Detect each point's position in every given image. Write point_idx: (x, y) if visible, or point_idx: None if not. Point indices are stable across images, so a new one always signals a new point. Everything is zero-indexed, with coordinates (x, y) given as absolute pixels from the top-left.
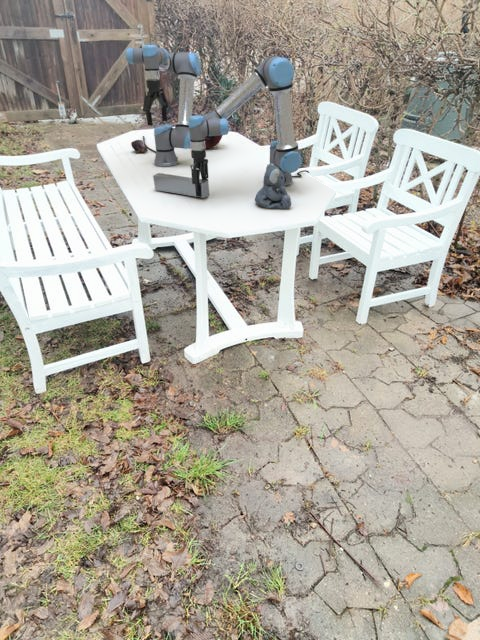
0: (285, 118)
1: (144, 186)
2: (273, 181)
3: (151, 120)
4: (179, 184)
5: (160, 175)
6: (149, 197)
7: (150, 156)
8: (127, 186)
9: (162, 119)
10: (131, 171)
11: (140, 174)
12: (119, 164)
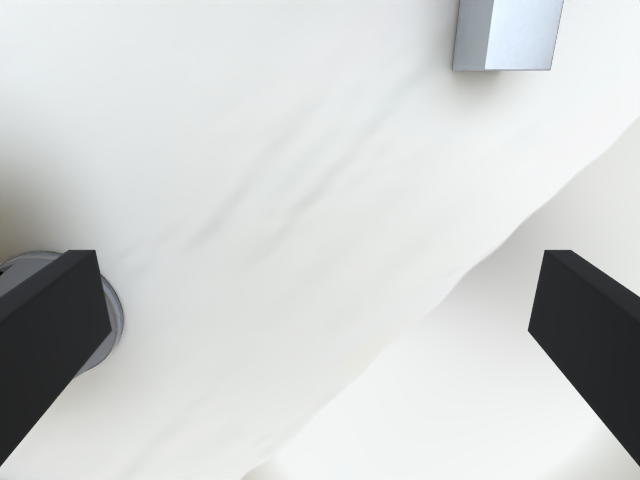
0: None
1: (447, 179)
2: None
3: (623, 292)
4: None
5: (539, 13)
6: (612, 32)
7: None
8: (477, 256)
9: (101, 340)
10: (266, 377)
11: (284, 315)
12: (207, 476)
